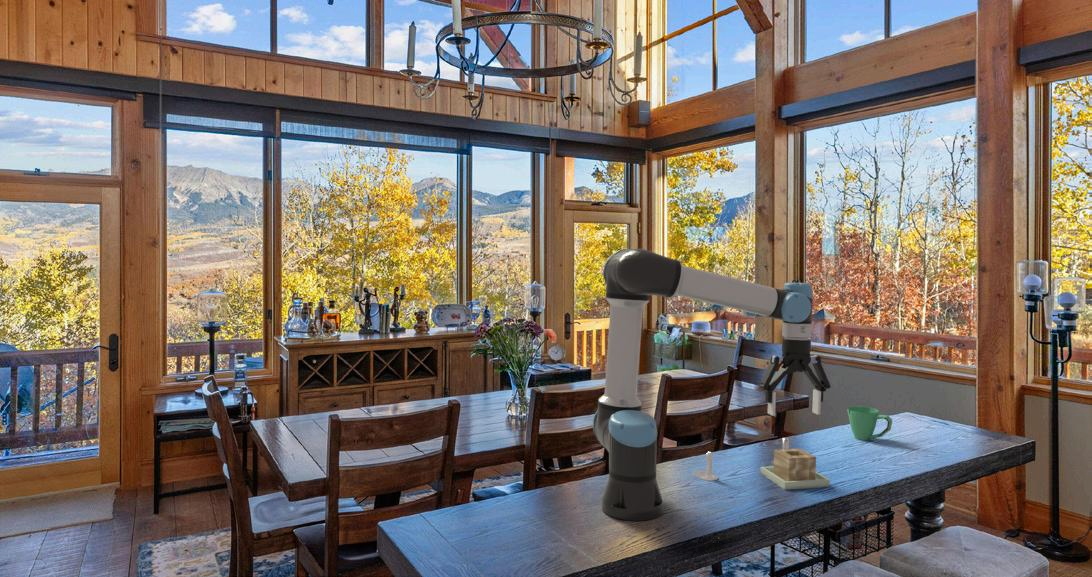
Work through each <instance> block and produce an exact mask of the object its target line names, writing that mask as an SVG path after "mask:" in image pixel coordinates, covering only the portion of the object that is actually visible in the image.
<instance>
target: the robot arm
mask: <svg viewBox="0 0 1092 577" xmlns="http://www.w3.org/2000/svg"><path fill="white" fill-rule="evenodd" d="M602 276H603V280H604V282H605V285H606V286H605V300H606V301H607V302H608V304H609V305H610V309H609V325H608V338H607V352H606V354H607V356H606V368H605V382H604V386H605V387H604V394H602V395H601V396H600V397H598V401H597V410H596V412H595V413H594V416H593V419H592V428H593V429H592V430H593V434H594V435H595V437H596V440H597V442H599V443H600V444H601V446H603V448H605V450H606V451H607V452H608V480H607V482H606V486H605V488H604V492H603V495H602V497H601V498H602V499H601V510H602V511H603V512H604V513H605V514H607V515H608V516H610V517H613V518H615V519H619V520H622V521H634V522H635V521H639V522H641V521H648V520H654V519H656V518H658V517H660V516H661V515H662V514H663V513H664V499H663V496H662V493H661V490H660V487H659V483H658V481H657V454H658V453H657V450H658V449H657V448H658V447H657V444H658V442H657V441H658V440H657V439H658V438H657V437H658V429H657V422H656V419H655V418H654V416H652V415H651V414H649V413H646V412H642V407H643V405H642V404H643V403H642V402H641V400H640V399H639V397H638V381H639V368H640V366H639V365H640V354H641V339H642V327H643V312H644V311H643V310H644V307H645V306H646V305H647V304H648V303H649V302H650V296H656V297H657V296H658V297H663V298H669V299H672V298H673V297H675V296H678V297H682V298H686V299H690V300H694V301H697V302H699V301H700V302H704V303H708V304H711V305H716V306H721V307H725V308H729V309H733V310H737V311H742V313H743V315H744V316H746V317H748V318H749V317H751V318H752V317H753V318H757V317H758V318H767V319H772V320H779V321H782V331H781V332H782V333H781V336H782V337H783V338H782V339H781V352H782V353H781V356H778V355H775V354H773V355H771V356H770V362H769V365H768V367H767V368H766V371H765V372H764V375H763V376H762V378H761V381H760V383H759V385H758V387H759V388H760V389H763V390H764V391H765V402H766V403H767V414H768V415H770V416H772V417H773V416H776V403H777V402H776V401H777V399H776V398H777V397H776V396H777V392H776V391H775V389H776V388H777V387H778V385H780V384H781V382H782V380H784V379H785V377H786V376H787V375H788V374H789V373H790V372H791V373H796V372H799V373H804V374H805V375H806V377H807V379H808V380H809V381H810V383H811V384H812V385H813V386H814V388H815V389H812V410H811V412H812V413H813V414H815V415H817V416H818V415H821V404H822V402H823V401H824V392H826V391H827V389H831V384H830V381H829V379H828V376H827V375H826V374H827V373H826V371H825V370H824V368H823V365H822V358H821V356H820V355H816V354H812V355H811V352H812V350H811V349H812V341H811V339H810V338H811V337H812V323H813V322H812V320H813V301H814V293H813V292H814V291H813V285H811V284H810V283H808V282H785V283H784V284H783V289H781V288H775V287H772V286H768V285H763V284H759V283H756V282H751V281H747V280H743V279H739V278H735V277H730V276H728V275H727V276H726V275H722V274H719V273H715V272H710V271H706V270H701V269H698V268H694V267H689V266H686V265H683V263H682V262H681V260H678V259H674V258H671V257H668V256H665V255H661V254H659V253H656V252H655V251H654V252H653V251H650V250H648V249H644V248H623V249H619V250H617V251H615V252H614V253H612V254H611V255H610V256H609V257H608V258H607V259H606V260H605V263H604V265H603V271H602ZM781 363H782V364H781ZM810 363H811V364H812V366H813V369H814V371H815V373H816V375H815V373H814V372H813V370H812V368H811V367H810V365H809V364H810ZM780 364H781V366H780V367H779V365H780ZM778 367H779V368H778ZM777 370H778V371H777Z"/></svg>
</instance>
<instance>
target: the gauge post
mask: <svg viewBox="0 0 1092 577" xmlns="http://www.w3.org/2000/svg"><path fill="white" fill-rule="evenodd" d="M783 449H790V437H782V450H783ZM770 464H771V465H772V466H774V459H773V460H771V461H770Z"/></svg>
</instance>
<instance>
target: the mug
mask: <svg viewBox="0 0 1092 577" xmlns="http://www.w3.org/2000/svg"><path fill="white" fill-rule="evenodd" d="M846 411H847V415H848V416H847V417H848V420H849V426H850V429H851V432H852V434H853V437H854V439H855V440H856V439H857V440H860V441H870V440H872V439H877V438H881V437H883V436H884V435H885V434H887V433H888V432H889V431H891V430H892V424H893V420H892V418H891V417H890V416H889V415H885V414H880V411H879V409H877V408H873V407H868V406H855V405H854V406H849V407H847V410H846ZM878 420H886V423H887V425H886V427H885V429H883V431H881V432H880V433H876V434H874V433H875V432H874V431H875V429H876V426H877V422H878Z"/></svg>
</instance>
